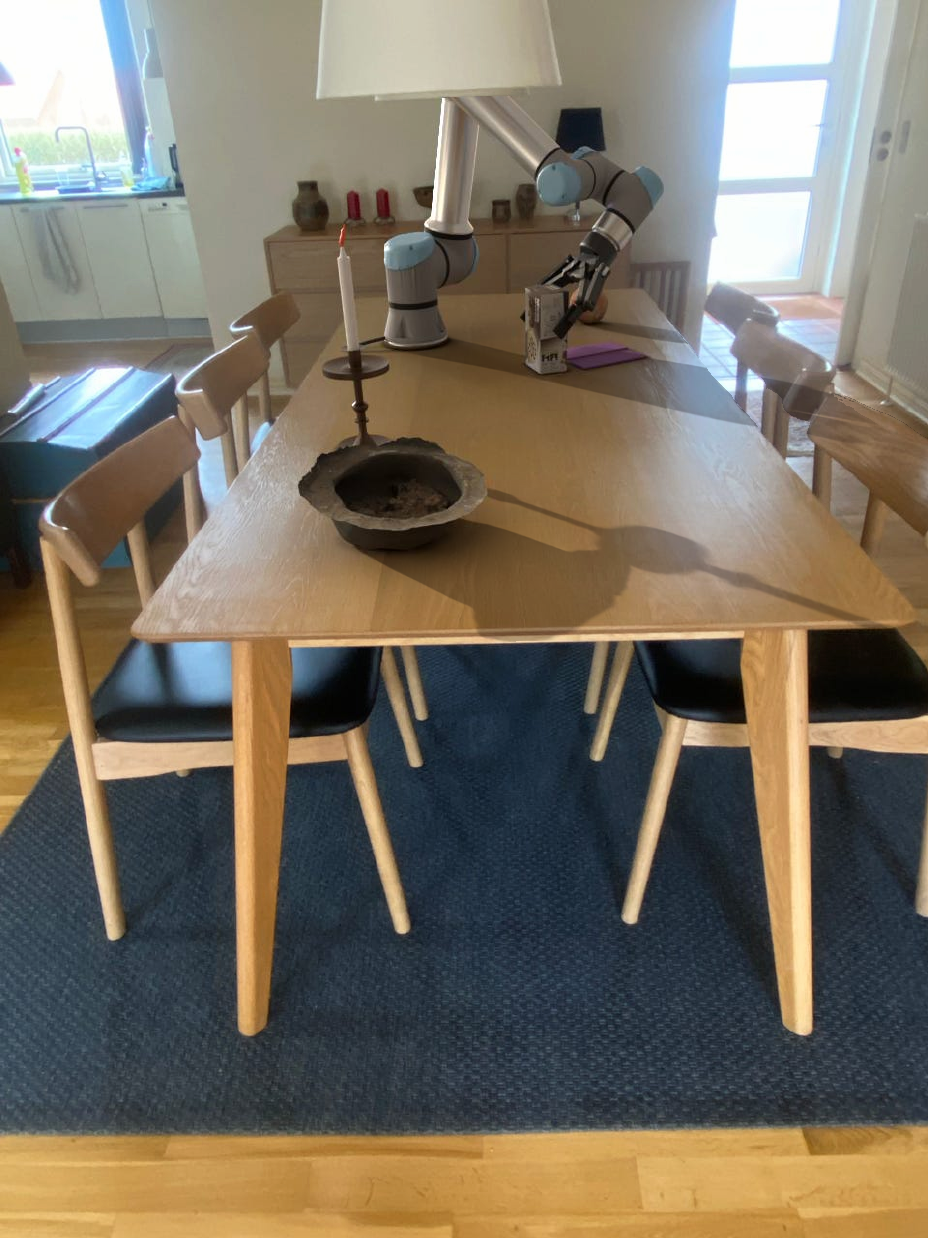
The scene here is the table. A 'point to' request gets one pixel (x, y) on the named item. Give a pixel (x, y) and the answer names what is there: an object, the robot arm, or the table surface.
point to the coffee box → (545, 328)
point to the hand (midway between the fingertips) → (540, 328)
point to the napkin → (601, 355)
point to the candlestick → (354, 358)
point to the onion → (596, 313)
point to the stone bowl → (393, 492)
